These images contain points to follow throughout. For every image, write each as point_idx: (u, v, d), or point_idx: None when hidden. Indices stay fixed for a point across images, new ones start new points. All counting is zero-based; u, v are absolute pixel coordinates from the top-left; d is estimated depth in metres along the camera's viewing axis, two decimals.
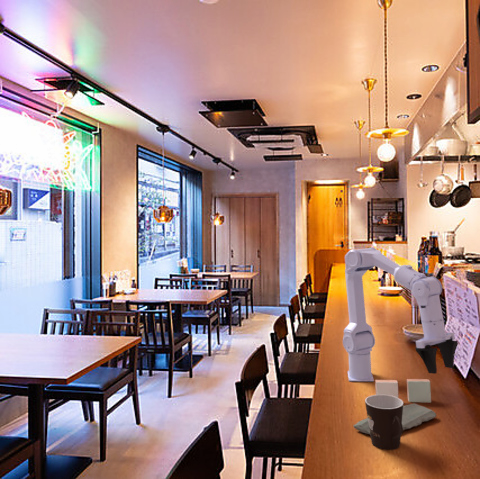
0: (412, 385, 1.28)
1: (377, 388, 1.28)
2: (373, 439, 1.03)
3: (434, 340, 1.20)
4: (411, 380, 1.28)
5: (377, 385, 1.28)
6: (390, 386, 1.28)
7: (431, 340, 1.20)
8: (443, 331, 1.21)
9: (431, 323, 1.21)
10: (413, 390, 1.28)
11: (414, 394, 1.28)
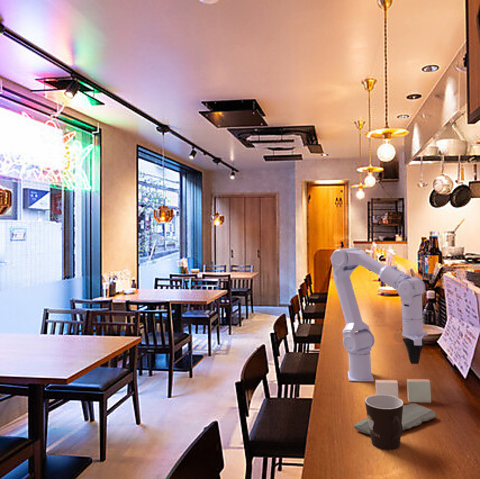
0: (412, 385, 1.28)
1: (377, 388, 1.28)
2: (373, 439, 1.03)
3: (422, 336, 1.29)
4: (411, 380, 1.28)
5: (377, 385, 1.28)
6: (390, 386, 1.28)
7: (422, 337, 1.28)
8: None
9: (419, 321, 1.30)
10: (413, 390, 1.28)
11: (414, 394, 1.28)
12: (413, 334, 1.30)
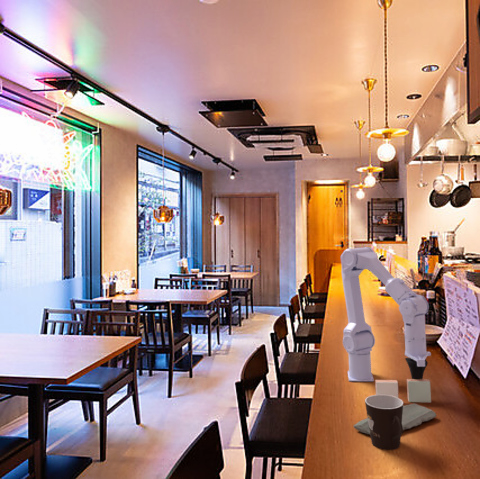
0: (412, 385, 1.28)
1: (377, 388, 1.28)
2: (373, 439, 1.03)
3: (425, 357, 1.27)
4: (411, 380, 1.28)
5: (377, 385, 1.28)
6: (390, 386, 1.28)
7: (425, 357, 1.26)
8: None
9: (422, 341, 1.27)
10: (413, 390, 1.28)
11: (414, 394, 1.28)
12: (416, 354, 1.27)
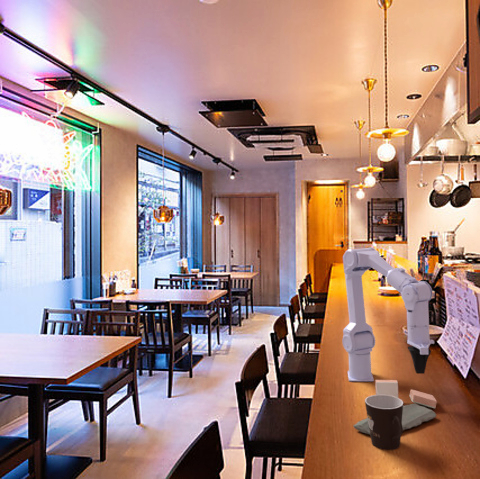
0: None
1: (377, 388, 1.28)
2: (373, 439, 1.03)
3: (429, 345, 1.21)
4: (416, 401, 1.22)
5: (377, 385, 1.28)
6: (390, 386, 1.28)
7: (428, 345, 1.21)
8: None
9: (425, 328, 1.22)
10: None
11: None
12: (419, 342, 1.22)
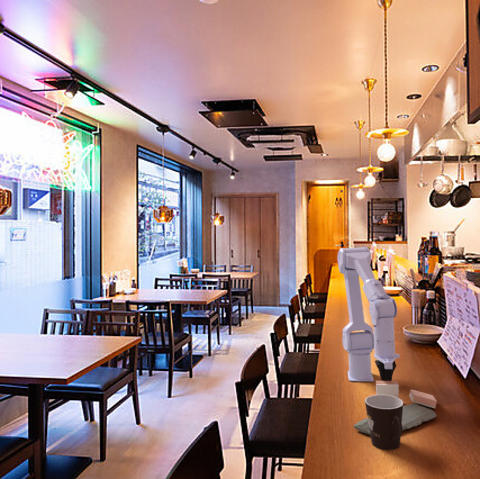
0: None
1: (377, 390, 1.27)
2: (373, 439, 1.03)
3: (394, 359, 1.26)
4: (416, 401, 1.22)
5: (378, 387, 1.27)
6: (391, 388, 1.27)
7: (393, 360, 1.25)
8: None
9: (390, 343, 1.27)
10: None
11: None
12: (384, 357, 1.27)
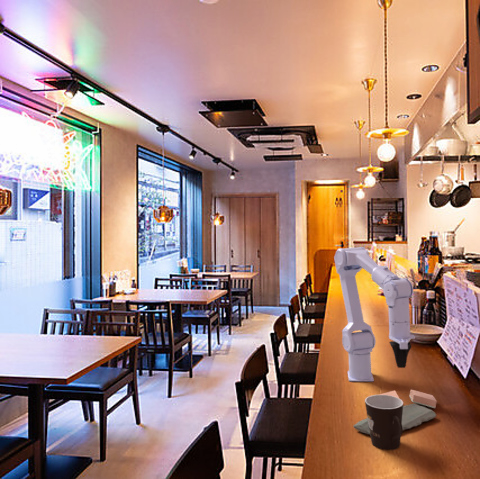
0: None
1: None
2: (373, 439, 1.03)
3: (409, 340, 1.25)
4: (416, 401, 1.22)
5: None
6: None
7: (408, 340, 1.25)
8: None
9: (405, 323, 1.26)
10: None
11: None
12: (399, 337, 1.26)
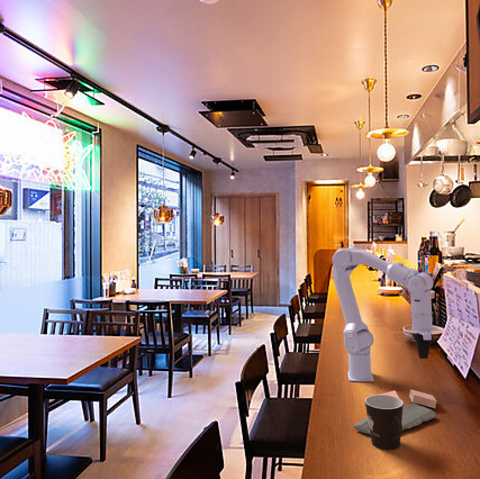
0: None
1: None
2: (373, 439, 1.03)
3: (431, 331, 1.31)
4: (416, 401, 1.22)
5: None
6: None
7: (431, 332, 1.30)
8: None
9: (428, 316, 1.31)
10: None
11: None
12: (422, 329, 1.31)
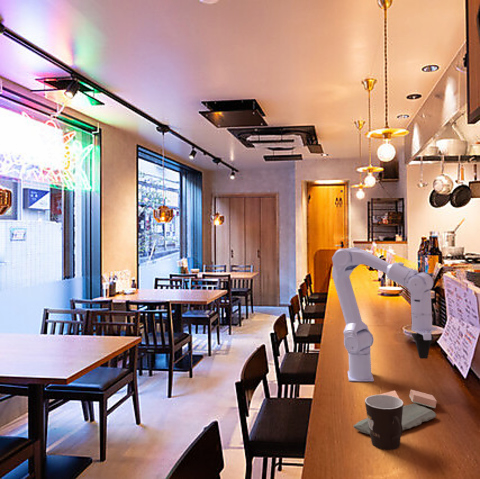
0: None
1: None
2: (373, 439, 1.03)
3: (431, 331, 1.31)
4: (416, 401, 1.22)
5: None
6: None
7: (431, 332, 1.30)
8: None
9: (428, 316, 1.31)
10: None
11: None
12: (422, 329, 1.31)
